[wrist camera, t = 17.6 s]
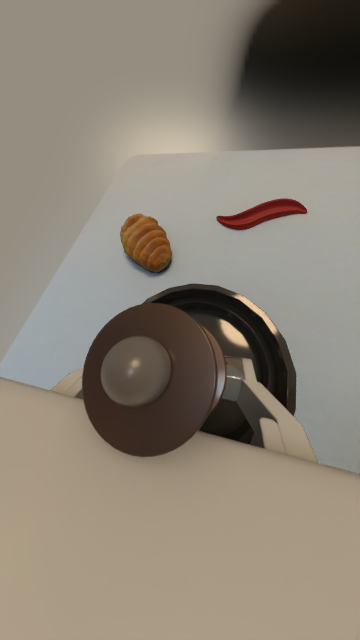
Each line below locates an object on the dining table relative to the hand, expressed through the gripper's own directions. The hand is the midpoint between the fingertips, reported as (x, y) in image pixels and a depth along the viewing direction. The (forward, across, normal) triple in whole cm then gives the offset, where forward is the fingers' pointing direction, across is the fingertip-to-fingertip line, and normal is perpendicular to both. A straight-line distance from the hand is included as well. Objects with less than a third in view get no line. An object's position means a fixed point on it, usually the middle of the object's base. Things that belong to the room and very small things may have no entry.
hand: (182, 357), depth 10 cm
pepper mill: (+5, 0, +6) cm, 7 cm away
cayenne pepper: (+21, -7, -9) cm, 24 cm away
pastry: (+17, +9, -6) cm, 20 cm away
